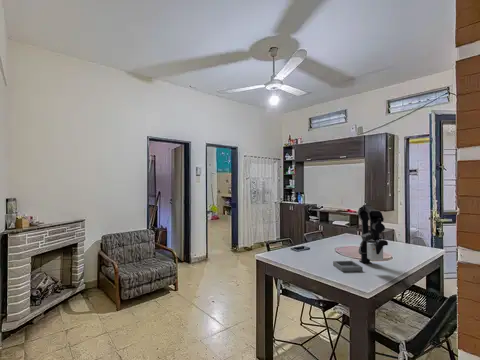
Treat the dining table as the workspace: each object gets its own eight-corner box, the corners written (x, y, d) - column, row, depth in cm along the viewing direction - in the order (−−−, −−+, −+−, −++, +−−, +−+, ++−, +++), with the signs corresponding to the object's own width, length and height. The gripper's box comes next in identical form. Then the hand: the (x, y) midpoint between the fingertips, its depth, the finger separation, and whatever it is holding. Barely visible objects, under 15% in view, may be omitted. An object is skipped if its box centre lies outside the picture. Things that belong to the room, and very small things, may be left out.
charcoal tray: (333, 265, 187) (333, 261, 187) (352, 264, 188) (351, 260, 188) (342, 272, 173) (342, 267, 173) (362, 271, 174) (362, 267, 174)
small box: (378, 258, 174) (378, 242, 174) (383, 260, 169) (383, 244, 169) (366, 258, 174) (366, 242, 174) (371, 260, 168) (371, 244, 168)
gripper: (355, 227, 180) (355, 249, 180) (371, 232, 162) (371, 257, 161) (371, 226, 181) (371, 249, 181) (388, 232, 162) (388, 257, 162)
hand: (374, 253), depth 171 cm, fingers closed on small box, 6 cm apart
